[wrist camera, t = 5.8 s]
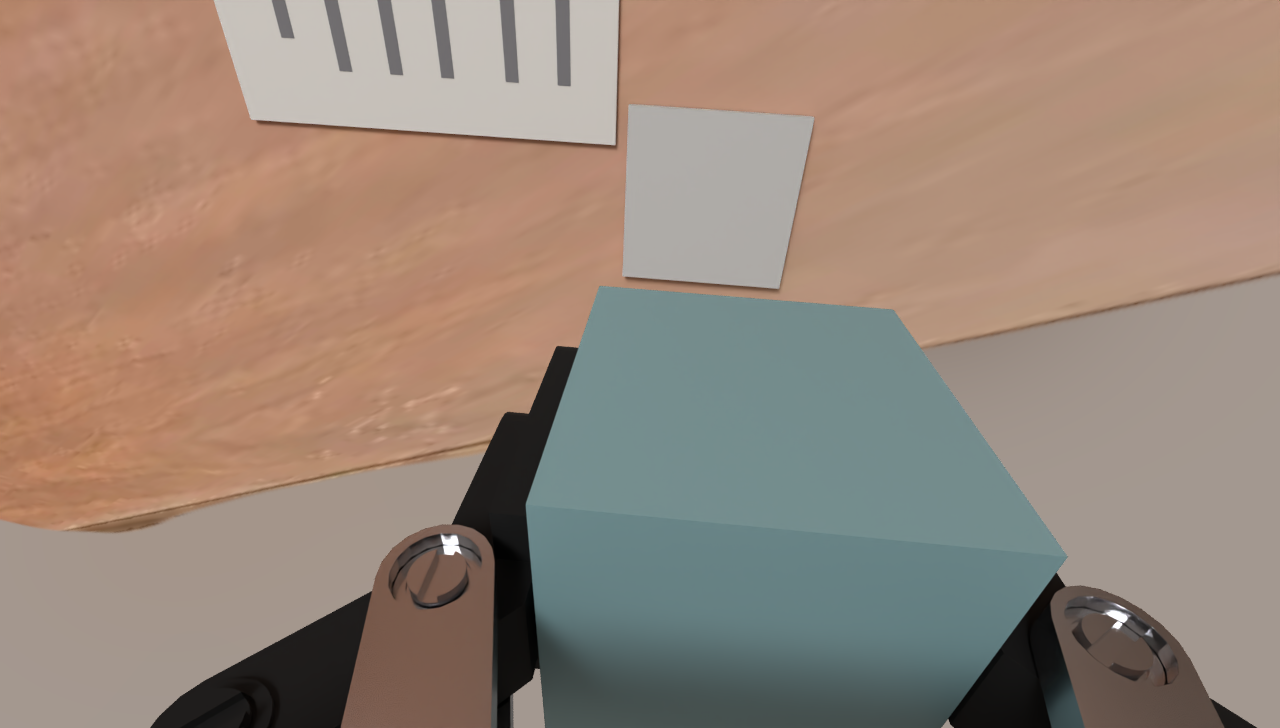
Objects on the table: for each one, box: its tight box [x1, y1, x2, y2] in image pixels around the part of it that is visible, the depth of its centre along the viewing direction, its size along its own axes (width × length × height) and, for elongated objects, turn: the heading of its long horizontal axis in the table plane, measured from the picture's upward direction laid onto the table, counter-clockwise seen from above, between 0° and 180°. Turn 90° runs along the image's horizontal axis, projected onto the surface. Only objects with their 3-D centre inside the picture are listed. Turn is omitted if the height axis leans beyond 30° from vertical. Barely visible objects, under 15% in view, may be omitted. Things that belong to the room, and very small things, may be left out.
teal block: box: [526, 286, 1067, 728], centre depth 8 cm, size 5×5×5 cm
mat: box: [623, 104, 814, 289], centre depth 22 cm, size 7×7×1 cm
